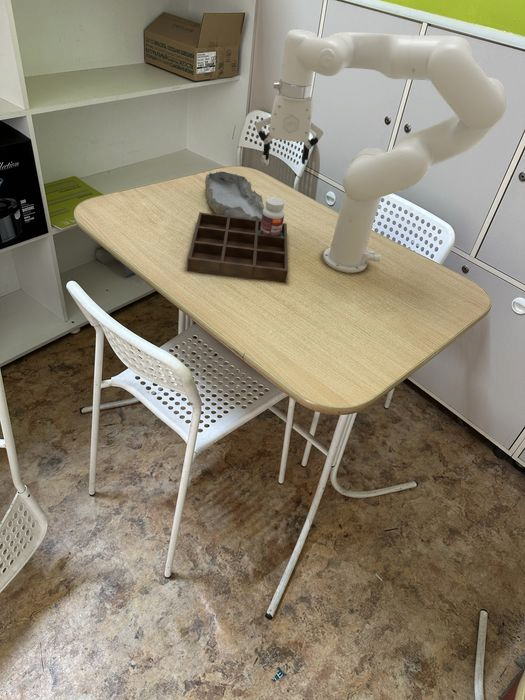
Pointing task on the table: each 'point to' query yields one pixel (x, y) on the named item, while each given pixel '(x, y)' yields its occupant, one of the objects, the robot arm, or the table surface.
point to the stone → (233, 196)
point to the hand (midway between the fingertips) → (284, 160)
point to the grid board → (237, 249)
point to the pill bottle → (272, 217)
